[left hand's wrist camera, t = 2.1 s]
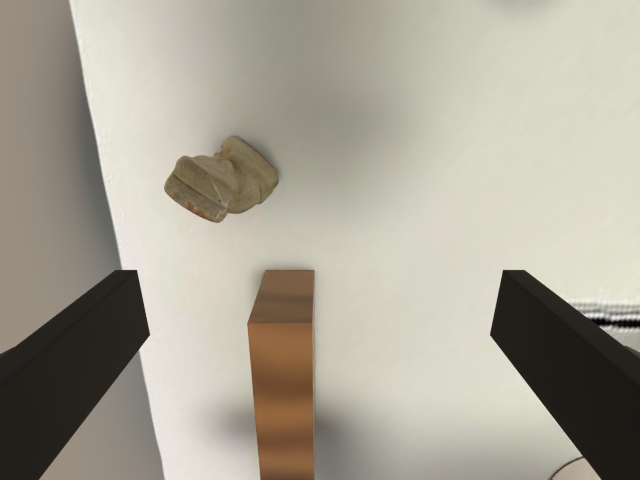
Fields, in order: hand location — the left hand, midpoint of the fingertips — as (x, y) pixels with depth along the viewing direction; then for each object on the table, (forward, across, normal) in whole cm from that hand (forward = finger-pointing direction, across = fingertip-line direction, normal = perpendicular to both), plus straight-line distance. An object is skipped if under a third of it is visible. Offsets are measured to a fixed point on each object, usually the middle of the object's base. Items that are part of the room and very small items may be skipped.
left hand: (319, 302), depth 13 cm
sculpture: (+29, -8, +1) cm, 30 cm away
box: (+29, -4, -26) cm, 39 cm away
